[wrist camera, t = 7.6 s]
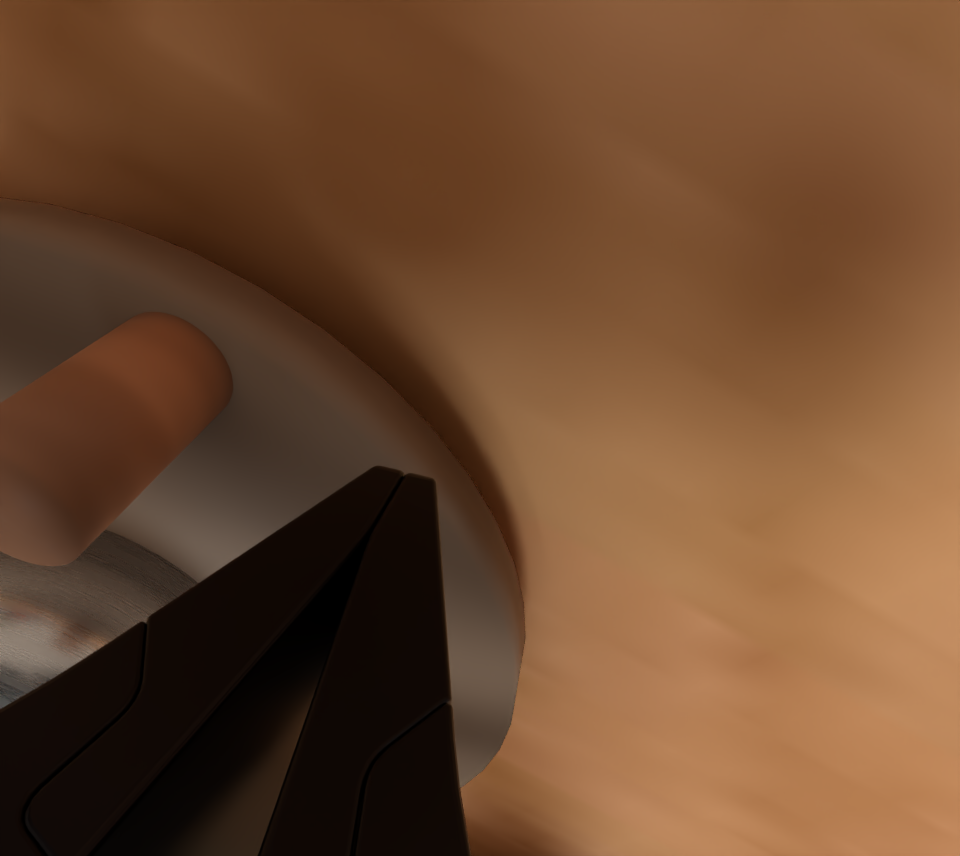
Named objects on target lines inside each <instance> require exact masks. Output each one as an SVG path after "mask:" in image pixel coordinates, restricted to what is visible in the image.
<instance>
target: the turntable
mask: <svg viewBox="0 0 960 856" xmlns="http://www.w3.org/2000/svg"><path fill="white" fill-rule="evenodd" d="M377 465H380V466H385V467H389V468H393V469H397V470H401V471H403V472H404V473H405V475H406V474H408V473H414V474H419V475H423V476H427V477H431V478H434V479H435V480H436V483H437V495H438V509H439V523H440V537H441V551H442V565H443V579H444V594H445V608H446V622H447V636H448V650H449V664H450V678H451V692H452V702H451V705H452V707H453V716H454V730H455V744H456V753H457V763H458V772H459V781H460V788H461V787H463V786H464V785H465V784H467V783H468V782H469V781H470V780H472V779H473V778H474V777H475V776H477V775H478V774H479V773H480V772H482V771H483V770H484V769H485V767H486V766H487V765H488V764H489V762H490V761H491V760H492V759H493V757H494V756H495V755H496V753H497V752H498V751H499V750H500V748H501V745H502V743H503V741H504V739H505V736H506V734H507V732H508V730H509V727H510V725H511V720H512V714H513V709H514V703H515V697H516V691H517V685H518V679H519V673H520V668H521V662H522V656H523V650H524V644H525V618H524V602H523V598H522V594H521V589H520V585H519V581H518V577H517V573H516V569H515V564H514V562H513V559H512V557H511V555H510V552H509V550H508V548H507V545H506V543H505V540H504V538H503V536H502V533H501V531H500V529H499V526H498V524H497V522H496V520H495V518H494V516H493V515H492V513H491V511H490V510H489V508H488V506H487V505H486V503H485V501H484V500H483V498H482V496H481V495H480V493H479V491H478V490H477V488H476V486H475V485H474V483H473V481H472V480H471V478H470V476H469V475H468V473H467V472H466V471H465V469H464V468H463V467H462V466H461V464H460V463H459V462H458V461H457V459H456V458H455V457H454V456H453V454H452V453H451V452H450V450H449V449H448V448H447V447H446V445H445V444H444V443H443V442H442V440H441V439H440V438H439V436H438V435H437V434H436V433H435V431H434V430H433V429H432V428H431V426H430V425H429V424H428V423H427V422H426V421H425V420H424V419H423V418H422V417H421V416H420V415H419V414H418V413H417V412H416V411H415V410H414V409H413V408H412V407H411V406H410V405H409V404H408V403H407V402H406V401H405V400H404V399H403V398H402V397H401V396H400V395H399V394H398V393H397V392H396V391H395V390H394V389H393V388H392V387H391V386H390V385H389V384H388V383H387V382H386V381H385V380H384V379H383V378H382V377H381V376H380V375H379V374H378V373H376V372H375V371H374V370H373V369H371V368H370V367H369V366H368V365H367V364H365V363H364V362H363V361H362V360H360V359H359V358H358V357H357V356H356V355H354V354H353V353H352V352H351V351H349V350H348V349H347V348H346V347H345V346H343V345H342V344H341V343H340V342H339V341H337V340H336V339H335V338H334V337H332V336H331V335H330V334H329V333H328V332H326V331H325V330H324V329H322V328H321V327H319V326H318V325H316V324H315V323H313V322H312V321H310V320H309V319H307V318H305V317H304V316H302V315H301V314H299V313H298V312H296V311H295V310H293V309H292V308H290V307H289V306H287V305H286V304H284V303H283V302H281V301H280V300H278V299H277V298H275V297H274V296H272V295H271V294H269V293H268V292H266V291H265V290H263V289H262V288H260V287H258V286H256V285H254V284H253V283H251V282H249V281H247V280H245V279H243V278H241V277H239V276H237V275H235V274H234V273H232V272H230V271H228V270H226V269H224V268H222V267H220V266H218V265H216V264H215V263H213V262H211V261H209V260H207V259H205V258H203V257H201V256H199V255H197V254H196V253H194V252H192V251H189V250H187V249H184V248H182V247H179V246H177V245H174V244H172V243H169V242H167V241H164V240H162V239H159V238H157V237H154V236H152V235H149V234H147V233H144V232H142V231H139V230H137V229H134V228H132V227H129V226H127V225H124V224H122V223H118V222H115V221H111V220H107V219H103V218H100V217H96V216H92V215H89V214H85V213H81V212H77V211H74V210H70V209H66V208H63V207H59V206H55V205H52V204H45V203H37V202H30V201H22V200H15V199H7V198H0V551H1V552H3V553H5V554H7V555H9V556H11V557H14V558H17V559H19V560H22V561H25V562H28V563H32V564H37V565H43V566H62V565H66V564H69V563H71V562H73V561H74V560H75V559H76V558H78V557H79V556H80V554H81V553H82V552H83V551H84V550H85V549H86V548H87V547H88V546H89V545H90V544H91V543H92V542H93V541H94V540H95V539H96V538H97V537H98V536H99V535H100V534H101V533H102V532H103V531H104V530H107V531H110V532H113V533H115V534H118V535H120V536H123V537H125V538H127V539H129V540H131V541H133V542H135V543H138V544H140V545H142V546H144V547H145V548H147V549H149V550H151V551H153V552H154V553H156V554H158V555H160V556H161V557H163V558H164V559H166V560H168V561H169V562H171V563H172V564H174V565H175V566H177V567H178V568H180V569H181V570H182V571H184V572H185V573H186V574H188V575H189V576H190V577H192V578H193V579H194V580H195V581H197V582H198V583H199V582H201V581H202V580H204V579H205V578H207V577H208V576H210V575H211V574H213V573H214V572H216V571H217V570H219V569H220V568H222V567H223V566H225V565H226V564H228V563H229V562H231V561H232V560H234V559H235V558H237V557H238V556H240V555H241V554H243V553H244V552H246V551H247V550H249V549H250V548H252V547H253V546H255V545H256V544H258V543H259V542H261V541H262V540H264V539H265V538H267V537H268V536H270V535H271V534H273V533H274V532H276V531H277V530H279V529H280V528H282V527H283V526H285V525H286V524H288V523H289V522H291V521H292V520H294V519H295V518H297V517H298V516H300V515H301V514H303V513H304V512H306V511H307V510H309V509H310V508H312V507H313V506H315V505H316V504H318V503H319V502H321V501H322V500H324V499H325V498H327V497H328V496H330V495H331V494H333V493H334V492H336V491H337V490H339V489H340V488H342V487H343V486H345V485H346V484H348V483H349V482H351V481H352V480H354V479H355V478H357V477H358V476H360V475H361V474H363V473H364V472H366V471H367V470H369V469H370V468H372V467H374V466H377Z"/></svg>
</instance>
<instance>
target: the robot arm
mask: <svg viewBox="0 0 960 856" xmlns="http://www.w3.org/2000/svg"><path fill="white" fill-rule="evenodd" d="M451 702H452V692H451V678H450V664H449V650H448V636H447V622H446V608H445V594H444V579H443V565H442V551H441V537H440V523H439V509H438V495H437V483H436V480H435V479H434V478H431V477H427V476H423V475H419V474H414V473H408V474H406V475H405V473H404V472H403V471H401V470H397V469H393V468H389V467H385V466H380V465H377V466H374V467H372V468H370V469H369V470H367V471H366V472H364V473H363V474H361V475H360V476H358V477H357V478H355V479H354V480H352V481H351V482H349V483H348V484H346V485H345V486H343V487H342V488H340V489H339V490H337V491H336V492H334V493H333V494H331V495H330V496H328V497H327V498H325V499H324V500H322V501H321V502H319V503H318V504H316V505H315V506H313V507H312V508H310V509H309V510H307V511H306V512H304V513H303V514H301V515H300V516H298V517H297V518H295V519H294V520H292V521H291V522H289V523H288V524H286V525H285V526H283V527H282V528H280V529H279V530H277V531H276V532H274V533H273V534H271V535H270V536H268V537H267V538H265V539H264V540H262V541H261V542H259V543H258V544H256V545H255V546H253V547H252V548H250V549H249V550H247V551H246V552H244V553H243V554H241V555H240V556H238V557H237V558H235V559H234V560H232V561H231V562H229V563H228V564H226V565H225V566H223V567H222V568H220V569H219V570H217V571H216V572H214V573H213V574H211V575H210V576H208V577H207V578H205V579H204V580H202V581H201V582H199V583H198V584H196V585H195V586H193V587H192V588H190V589H189V590H187V591H186V592H184V593H183V594H181V595H180V596H178V597H177V598H175V599H174V600H172V601H171V602H169V603H168V604H166V605H165V606H163V607H162V608H160V609H159V610H157V611H156V612H154V613H153V614H151V615H150V616H149V617H148V618H147V622H146V623H145V622H143V621H142V622H139V623H137V624H136V625H134V626H133V627H131V628H130V629H128V630H127V631H125V632H124V633H122V634H121V635H119V636H118V637H116V638H115V639H113V640H112V641H110V642H109V643H107V644H106V645H104V646H103V647H101V648H100V649H98V650H96V651H95V652H93V653H92V654H90V655H89V656H87V657H85V658H84V659H82V660H81V661H79V662H78V663H76V664H74V665H73V666H71V667H70V668H68V669H67V670H65V671H63V672H62V673H60V674H59V675H57V676H56V677H54V678H52V679H50V680H49V681H47V682H45V683H44V684H42V685H40V686H38V687H37V688H35V689H33V690H32V691H30V692H28V693H26V694H25V695H23V696H21V697H20V698H18V699H16V700H14V701H13V702H11V703H9V704H8V705H6V706H4V707H3V708H1V709H0V856H471V850H470V845H469V839H468V833H467V827H466V821H465V815H464V809H463V804H462V798H461V791H460V781H459V772H458V763H457V753H456V744H455V730H454V716H453V707H452V705H451Z"/></svg>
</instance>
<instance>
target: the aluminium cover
mask: <svg viewBox="0 0 960 856" xmlns="http://www.w3.org/2000/svg"><path fill="white" fill-rule="evenodd" d="M196 584H198V582H197V581H195V580H194V579H193V578H192V577H190V576H189V575H188V574H186V573H185V572H184V571H182V570H181V569H180V568H178V567H177V566H175V565H174V564H172V563H171V562H169V561H168V560H166V559H164V558H163V557H161V556H160V555H158V554H156V553H154V552H153V551H151V550H149V549H147V548H145V547H144V546H142V545H140V544H138V543H135V542H133V541H131V540H129V539H127V538H125V537H123V536H120V535H118V534H115V533H113V532H110V531H107V530H104V531H103V532H102V533H101V534H100V535H99V536H98V537H97V538H96V539H95V540H94V541H93V542H92V543H91V544H90V545H89V546H88V547H87V548H86V549H85V550H84V551H83V552H82V553H81V554H80V556H79V557H78V558H76V559H75V560H74V561H73V562H71V563H69V564H66V565H62V566H43V565H37V564H32V563H28V562H25V561H22V560H19V559H17V558H14V557H11V556H9V555H7V554H5V553H3V552H1V551H0V709H1V708H3V707H4V706H6V705H8V704H9V703H11V702H13V701H14V700H16V699H18V698H20V697H21V696H23V695H25V694H26V693H28V692H30V691H32V690H33V689H35V688H37V687H38V686H40V685H42V684H44V683H45V682H47V681H49V680H50V679H52V678H54V677H56V676H57V675H59V674H60V673H62V672H63V671H65V670H67V669H68V668H70V667H71V666H73V665H74V664H76V663H78V662H79V661H81V660H82V659H84V658H85V657H87V656H89V655H90V654H92V653H93V652H95V651H96V650H98V649H100V648H101V647H103V646H104V645H106V644H107V643H109V642H110V641H112V640H113V639H115V638H116V637H118V636H119V635H121V634H122V633H124V632H125V631H127V630H128V629H130V628H131V627H133V626H134V625H136V624H137V623H139V622H142V621H143V622H145V623H146V622H147V618H148V617H149V616H150V615H151V614H153V613H154V612H156V611H157V610H159V609H160V608H162V607H163V606H165V605H166V604H168V603H169V602H171V601H172V600H174V599H175V598H177V597H178V596H180V595H181V594H183V593H184V592H186V591H187V590H189V589H190V588H192V587H193V586H195V585H196Z"/></svg>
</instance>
